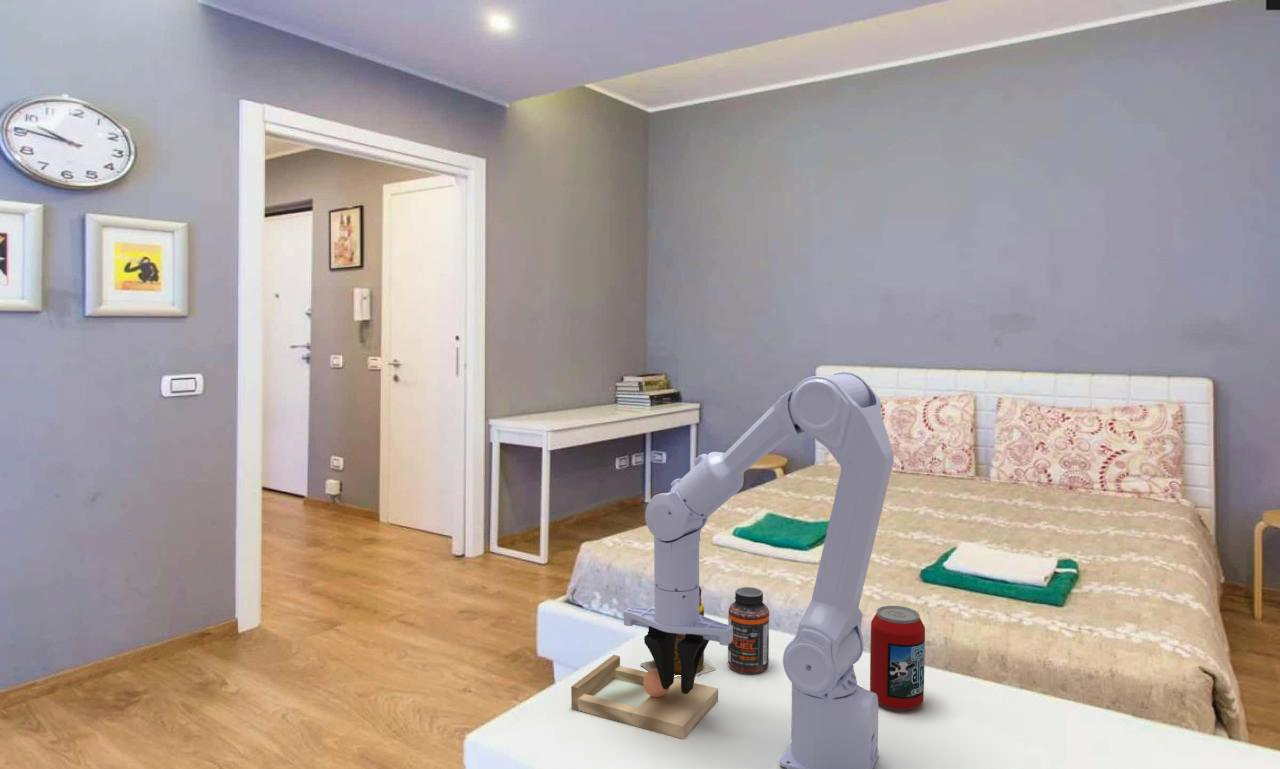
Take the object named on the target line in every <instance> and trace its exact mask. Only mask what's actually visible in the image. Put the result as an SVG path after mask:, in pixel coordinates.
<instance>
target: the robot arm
mask: <svg viewBox="0 0 1280 769" xmlns="http://www.w3.org/2000/svg"><path fill="white" fill-rule="evenodd" d="M881 402H882V401H881V398H880V397H879V396H878V394H877V393H876V392H875V391H874V389H872V386H870V385H869V384H868V382H867V381H866V380H865V379H864V378H862V377H861V376H860V375H859V374H856V373H854V372H849V371H842V372H837V373H834V374H831V375H813V376H809V377H806V378H803V380H801V381H800V382H799V383H798V384H797V385H796V386H795V388H794V389H792V390H788V391H787V392H786V393H784V394H783V395H781V396H780V397H779V399H777V400H776V402H775V403H773V405H771V406H770V408H769V409H767V411H766V412H765V413H763V415H762V416H761V417H760V418H759V419H757V420H756V422H755V423H753V425H751V426H750V427H749V428H748V430H746V431H744V432H745V433H743V434H742V435H741V436H740V437H739V438H738V439H737V440H736V441H735V443H733V444H732V445H731V446H730V447H729V448H728V449H727V450H726V451H725V452H720V451H712V452H709V453H708V454H707V453H703V454H699V455H698V456H697V457H695V459H694V463H695V464H696V465H695V466H694V467H692V469H691V470H689V471H688V472H687V473H686V474H685V475H684V476H683V477H682V478H675V479H674V480H673V481H672V482H671V483H670V487H671V488H670V491H669V492H662V493H661V492H660V493H658V494H655V495H653V496H652V498H651V499H650V501H649V502H648V503H647V506H646V508H645V515H644V518H645V523H646V526H647V528H648V531H649V532H650V533H651V535H653V551H654V552H653V553H654V554H653V556H654V557H653V558H654V559H653V560H654V564H653V565H654V569H653V572H654V577H653V578H654V579H653V580H654V584H653V585H654V587H653V588H654V608H651V607H638V606H630V607H628V608H627V609H625V610H624V611H623V625H624V626H626V627H633V626H637V627H641V628H642V627H643V628H646V629H648V631H647V634H646V635H645V636H644V637H643V641H644V645H645V646H646V647H647V649H648V651H649V653H650V655H651V656H652V658H653V660H654V661H655V664H656V667H657V670H658V673H659V677H660V681H661V684H662V687H663V689H668V688H669V687H670V686H671V685H672V684H673V682H674V676H675V675H674V650H675V642H676V635H677V634H681V635H685V638H684V639H682V640H681V641H680V642H679V643H678V644H677V648H678V652H679V657H680V663H681V691H682V693H683V694H688V693H689V692H690V691H691V690H692V689H693V685H694V683H695V680H696V679H695V678H696V676H695V675H696V671H697V668H698V665H699V662H700V659H701V657H702V654H703V652H704V653H705V650H706V648H707V646H708V644H709V642H710V641H713V642H717V643H719V645H721V646H724V647H728V644H730V643H731V642H732V641H733V626H732V625H728V623H724V622H720V621H718V620H715V619H712V618H709V617H707V616H705V615H704V616H702V615H699V586H700V542H701V531H702V529H703V528H704V527H705V526H706V524H707V522H708V521H709V520H708V519H709V517H710V516H711V515H713V514H714V513H715V512H716V511H717V510H718V509H720V508H721V507H722V506H723V505H724V504H725V503H727V501H728V500H730V499H731V498H732V497H734V496H735V495H736V494H737V493H738V492H739V491H740V490H742V489H743V485H744V480H745V479H744V478H745V476H744V474H745V472H746V471H747V470H749V469H750V468H751V467H753V466H754V465H755V464H756V463H758V462H759V461H760V460H761V459H763V458H764V457H765V456H767V455H768V454H769V453H770V452H771V451H773V450H774V449H775V448H777V446H779V445H781V444H782V443H783V442H784V441H785V440H786V439H788V438H789V437H791V436H795V435H799V434H802V433H806V434H808V435H809V436H810V437H812V438H813V439H814V440H816V441H817V442H818V443H820V444H821V445H822V446H823V447H825V448H826V449H827V450H828V451H829V453H830V454H831V456H832V457H833V458H834V460H835V461H836V462H837V463H838V464H839V467H840V473H839V478H838V481H837V486H836V490H835V495H834V500H833V504H832V509H831V513H830V516H829V521H828V526H827V530H826V535H825V538H824V543H823V547H822V548H823V549H822V552H821V557H820V562H819V565H818V570H817V572H816V573H817V574H816V579H815V582H814V586H813V592H812V595H811V599H810V602H809V604H808V606H807V607H806V610H805V612H804V614H803V615H802V617H801V619H800V622H799V624H798V628H797V632H796V634H795V636H794V638H793V639H792V640H791V641H790V642H789V643H788V644H787V645H786V647H785V649H784V651H783V656H782V664H783V670H784V672H785V674H786V676H787V678H788V680H789V681H790V683H791V720H790V721H791V722H790V723H791V726H790V727H791V731H790V733H791V736H790V738H791V739H790V740H791V742H790V744H789V745H788V747H787V748H786V750H785V751H784V753H783V755H782V756H781V758H780V759H779V766H781V767H783V768H787V769H874V767H875V764H876V762H877V760H878V757H879V753H880V752H879V749H878V748H879V745H878V744H879V702H878V697H877V694H876V693H874V692H871V691H870V690H868V689H866V688H864V687H862V686H860V685H858V681H857V676H856V672H855V670H854V669H855V668H854V664H856V663H858V662H859V660H860V659H861V658H862V655H863V652H864V646H865V644H864V643H865V642H864V637H863V635H862V634H863V633H862V630H861V628H862V627H861V625H862V620H863V616H864V615H863V612H862V611H861V609H860V602H861V599H862V595H863V590H864V586H865V581H866V578H867V572H868V569H869V564H870V561H871V556H872V553H873V548H874V544H875V540H876V536H877V531H878V528H879V523H880V520H881V519H880V518H881V515H882V511H883V508H884V501H885V499H886V495H887V490H888V486H889V482H890V478H891V473H892V470H893V465H894V458H895V457H894V456H895V454H894V450H893V447H892V444H891V441H890V437H889V435H888V434H889V433H888V431H887V429H886V428H887V427H886V425H885V422H884V418H883V415H882V411H881Z"/></svg>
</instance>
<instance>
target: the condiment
mask: <svg viewBox="0 0 1280 769" xmlns="http://www.w3.org/2000/svg"><path fill="white" fill-rule="evenodd" d="M702 601H703V600H702V587H701V586H700V585H699V615H702V616H705V607H704V605H703V602H702ZM684 638H685V635H681V634H677V635H676V642H675V650H674V674H675V675H681V663H680V657H679V652H678V648H677V644H678V643H679V642H680V641H681V640H682V639H684ZM704 657H705V651H704V652H703V654H702V657H701V659H700V662H699V665H698V668H697V671H696V675H695V677H697V676H699V675H703V674H706V673H708V672H712V671H714V670H716V669H717V668H716V667H714V666H712V665H710V664H708V663H706V662H704V661H705V658H704ZM640 666H642V667H643V668H644V669H646V671H650V670H652V669H656V668H657V667H656V664H655V661H654V659H653V660H650V661H645V662H642V663H640ZM675 675H674V676H675ZM674 678H675V679H680V680H681V676H677V677H674Z"/></svg>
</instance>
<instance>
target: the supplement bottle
mask: <svg viewBox="0 0 1280 769" xmlns="http://www.w3.org/2000/svg"><path fill="white" fill-rule="evenodd" d="M734 595H735V597H734V599H735V601H734V602H732V603H731V604H730V605H729V608H728V614H727V615H728V616H727V619H728V621H727V625H732V626H733V641H732V642H731V643H730V644H728V645H727V665H728V666H729V667H730V668H731V669H732V670H733V671H735V672H738V673H740V674H745V675H746V674H747V675H756V674H759V673H762V672H765V671H766V670H767V669H768V667H769V658H770V657H769V652H770V649H769V648H770V646H769V643H770V611H769V610H770V609H769V608H768V606H767V605H766V604H765V603H764V602H763V601H764V592H763V591H762V589H760V588H757V587H753V586H744V587H739V588H736V589H735V594H734Z"/></svg>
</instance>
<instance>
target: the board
mask: <svg viewBox="0 0 1280 769" xmlns="http://www.w3.org/2000/svg"><path fill="white" fill-rule="evenodd" d="M647 672H648V671H644V670H639V669H636V668H632V667H628V666H627V667H626V666H622V665H621V656H620V655H617V654H613V655H612V656H610V657H609V658H608V659H606V660H605V661H604V662H602V663H601V664H599V665H598V666H597V667H595V668H594V669H592V670H591V671H590V672H589V673H588V674H586V675H585V676H583V677H582V678H581V679H579V680H578V681H577V682H575V683H574V684H573V685H572V686H571V691H570V693H571V699H570V700H571V710H574V711H578V712H581V711H582V713H585V712H586V714H589V713H590V714H589V715H592V714H593V716H596V717H600V718H604V719H607V720H611V719H612V720H611V721H614V722H615V721H616V722H618V721H619V722H618V723H622V722H623V723H622V724H626V725H631V726H632V727H633V726H634V727H638V728H640V729H641V728H642V729H644V730H648V731H652V732H656V733H659V734H663V735H667V736H671V737H675V738H678V739H682V740H684V739H685V738H686V737H687V736H688V734H689V733H690V732H692V730H693V729H694V728H695V727H696V726H697V724H698V723H699V722H700V721H701V720H702V719H703V717H704V716H705V715H706V714H707V713H708V712H709V711H710V710H711V709H712V708H713V706H714V705H715V704H716V703H717V702H718V701H719V688H717V687H713V686H710V685H704V684H701V683H696V682H694V685H693V689H692V690H691V691H690V692H689V693H688V694H683V693H682V691H681V680H680V679H675V678H674V682H673V684H672V685H671V686H670V688H669V690H668V692H667V693H666V694H665V695H663V696H661V697H653V696H650V695H649V694H648V693H647V692H646V691H645V689H644V685H643V681H644V677H645V675H646V674H647Z"/></svg>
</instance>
